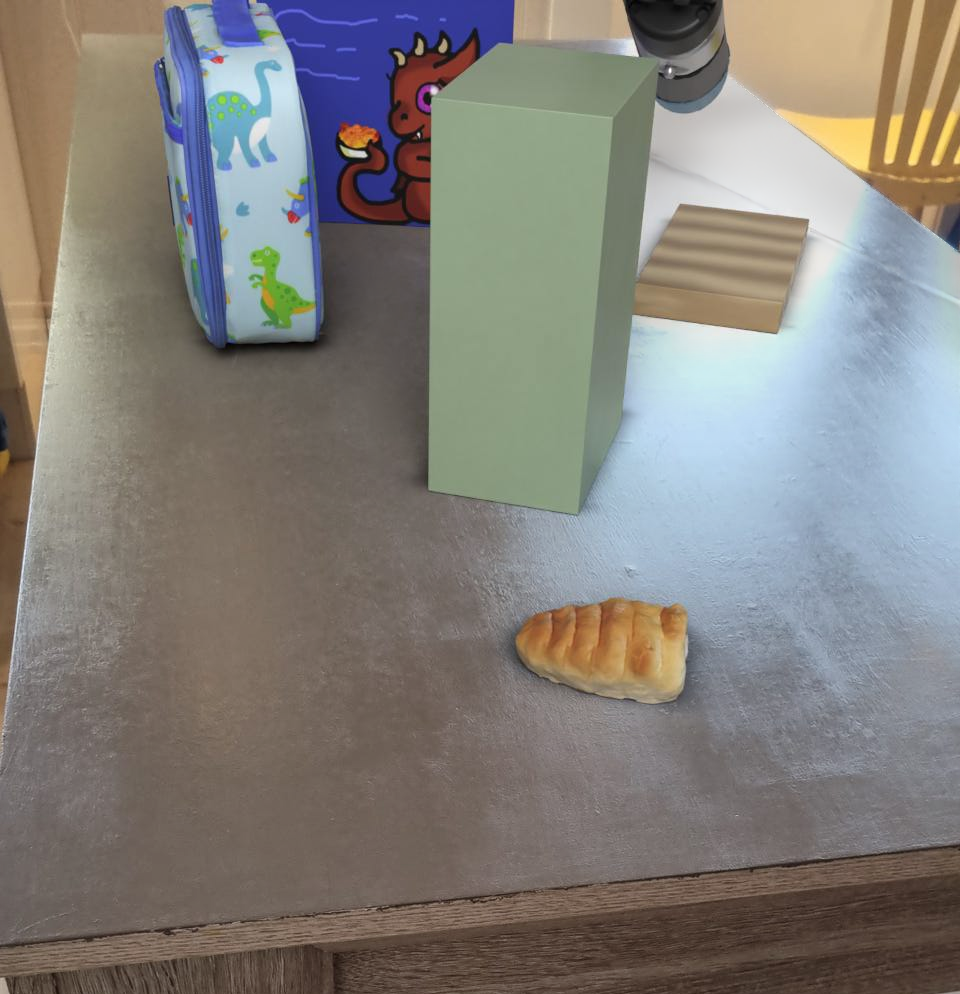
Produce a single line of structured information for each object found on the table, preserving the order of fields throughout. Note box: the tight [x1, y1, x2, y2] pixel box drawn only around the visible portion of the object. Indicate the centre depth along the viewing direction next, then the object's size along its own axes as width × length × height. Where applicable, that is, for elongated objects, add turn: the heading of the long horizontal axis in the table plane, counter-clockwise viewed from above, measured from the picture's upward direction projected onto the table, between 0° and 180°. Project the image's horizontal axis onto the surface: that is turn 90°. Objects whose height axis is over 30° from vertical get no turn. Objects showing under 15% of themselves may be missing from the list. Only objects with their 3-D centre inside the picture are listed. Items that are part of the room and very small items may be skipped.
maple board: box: [633, 202, 810, 334], centre depth 119 cm, size 22×12×2 cm, turn 164°
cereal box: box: [255, 0, 516, 228], centre depth 119 cm, size 22×6×30 cm, turn 88°
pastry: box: [514, 596, 689, 705], centre depth 73 cm, size 9×7×4 cm
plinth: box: [427, 43, 660, 516], centre depth 85 cm, size 14×10×23 cm
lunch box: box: [153, 0, 325, 349], centre depth 104 cm, size 26×11×21 cm, turn 12°
